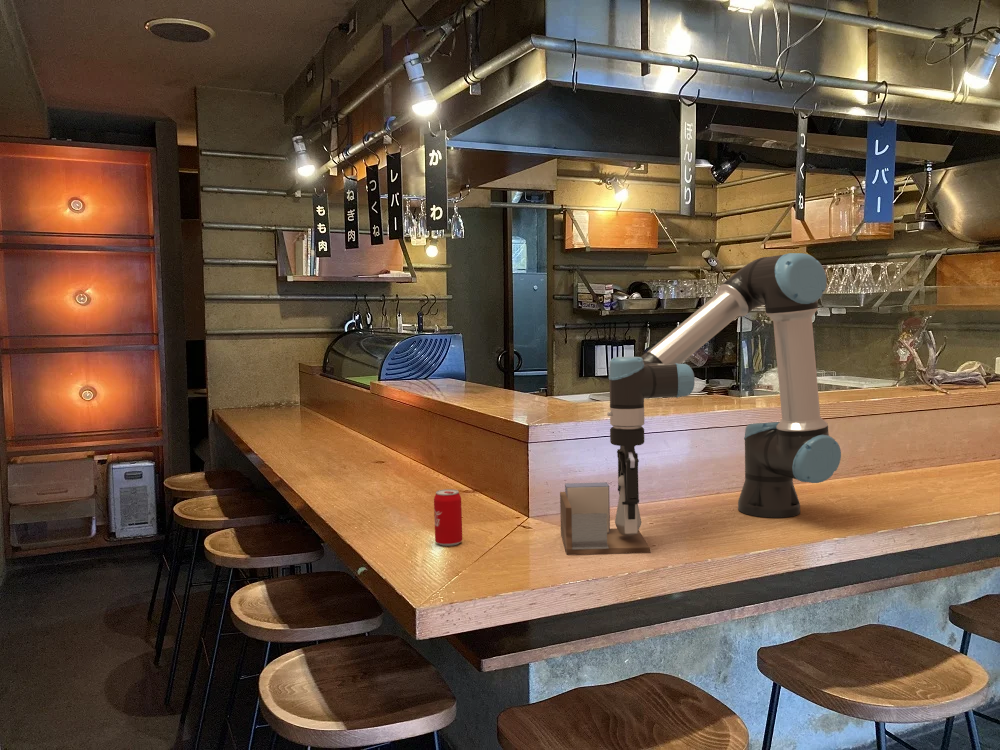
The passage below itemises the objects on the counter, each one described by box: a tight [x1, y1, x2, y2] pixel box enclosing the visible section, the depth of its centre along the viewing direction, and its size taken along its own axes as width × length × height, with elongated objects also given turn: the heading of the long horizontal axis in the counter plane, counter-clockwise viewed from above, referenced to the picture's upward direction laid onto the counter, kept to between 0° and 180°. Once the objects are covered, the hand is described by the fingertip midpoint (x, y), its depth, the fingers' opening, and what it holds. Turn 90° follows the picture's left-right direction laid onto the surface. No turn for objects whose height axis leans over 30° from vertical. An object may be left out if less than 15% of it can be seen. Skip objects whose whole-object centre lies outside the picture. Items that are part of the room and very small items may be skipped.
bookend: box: [572, 513, 609, 549], centre depth 171 cm, size 8×3×7 cm, turn 90°
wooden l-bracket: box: [559, 491, 651, 556], centre depth 178 cm, size 18×16×10 cm
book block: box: [564, 481, 611, 533], centre depth 184 cm, size 10×4×11 cm, turn 90°
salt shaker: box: [614, 475, 642, 535], centre depth 177 cm, size 6×6×13 cm
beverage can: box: [433, 488, 463, 547], centre depth 181 cm, size 6×6×12 cm
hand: (628, 528), depth 177 cm, fingers closed on salt shaker, 6 cm apart
